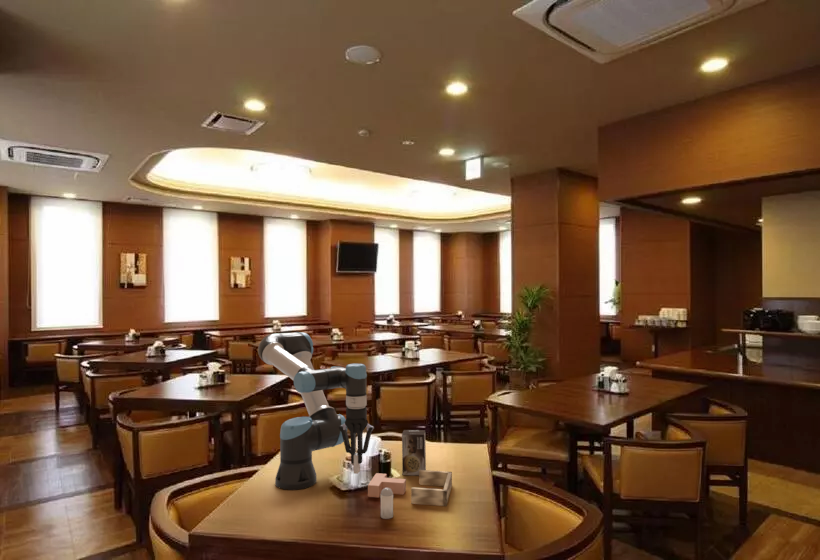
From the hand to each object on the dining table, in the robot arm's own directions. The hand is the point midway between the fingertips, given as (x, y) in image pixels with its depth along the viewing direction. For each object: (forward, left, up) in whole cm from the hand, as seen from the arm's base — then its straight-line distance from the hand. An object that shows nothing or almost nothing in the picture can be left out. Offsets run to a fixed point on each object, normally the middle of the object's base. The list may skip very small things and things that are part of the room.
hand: (356, 472), depth 183 cm
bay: (+28, 0, -6) cm, 28 cm away
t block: (+12, 0, -6) cm, 13 cm away
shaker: (+16, -20, -6) cm, 26 cm away
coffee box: (+18, +20, -6) cm, 28 cm away
